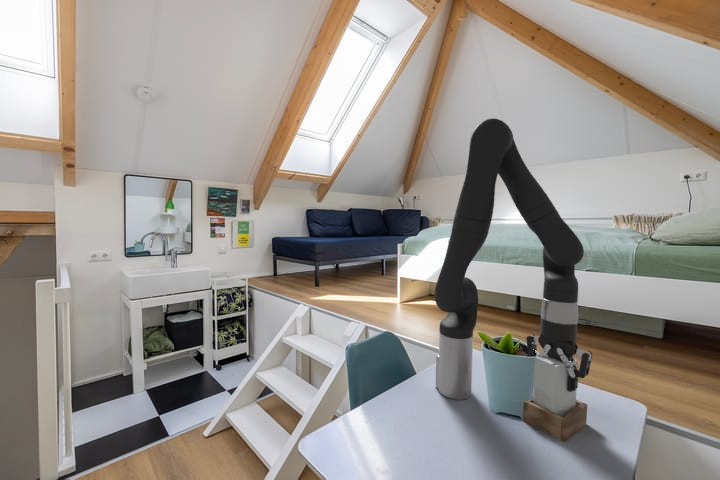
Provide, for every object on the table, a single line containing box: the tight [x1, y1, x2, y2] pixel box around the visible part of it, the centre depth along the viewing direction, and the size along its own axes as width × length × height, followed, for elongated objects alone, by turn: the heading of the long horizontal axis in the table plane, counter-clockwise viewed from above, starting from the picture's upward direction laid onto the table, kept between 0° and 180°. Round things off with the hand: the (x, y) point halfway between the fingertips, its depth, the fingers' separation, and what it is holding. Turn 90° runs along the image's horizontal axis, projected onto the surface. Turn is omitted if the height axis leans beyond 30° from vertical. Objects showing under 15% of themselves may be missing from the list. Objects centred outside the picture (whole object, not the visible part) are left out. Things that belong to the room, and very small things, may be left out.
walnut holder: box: [522, 395, 588, 444], centre depth 77 cm, size 10×12×5 cm
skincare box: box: [532, 355, 579, 417], centre depth 77 cm, size 8×6×15 cm
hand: (555, 384), depth 77 cm, fingers closed on skincare box, 6 cm apart
